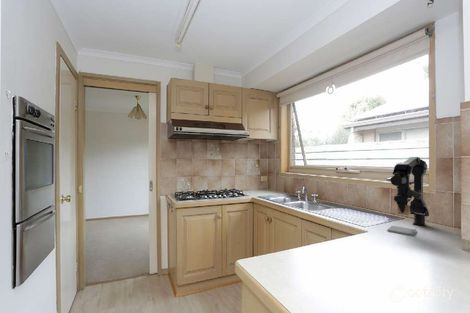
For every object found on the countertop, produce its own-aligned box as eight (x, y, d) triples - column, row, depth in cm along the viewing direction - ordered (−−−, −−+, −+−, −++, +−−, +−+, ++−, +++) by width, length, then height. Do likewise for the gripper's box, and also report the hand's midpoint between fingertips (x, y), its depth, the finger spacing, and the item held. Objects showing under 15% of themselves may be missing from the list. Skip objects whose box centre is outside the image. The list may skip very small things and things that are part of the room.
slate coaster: (392, 227, 145) (392, 225, 145) (416, 231, 137) (416, 229, 137) (387, 231, 137) (387, 229, 137) (413, 236, 128) (413, 234, 128)
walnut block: (399, 212, 140) (399, 204, 140) (409, 213, 136) (409, 205, 137) (397, 213, 136) (397, 205, 136) (408, 215, 133) (408, 206, 133)
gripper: (418, 187, 124) (419, 217, 124) (422, 184, 138) (423, 211, 138) (393, 185, 132) (393, 213, 132) (399, 183, 146) (399, 209, 145)
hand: (403, 212), depth 136 cm, fingers closed on walnut block, 5 cm apart
